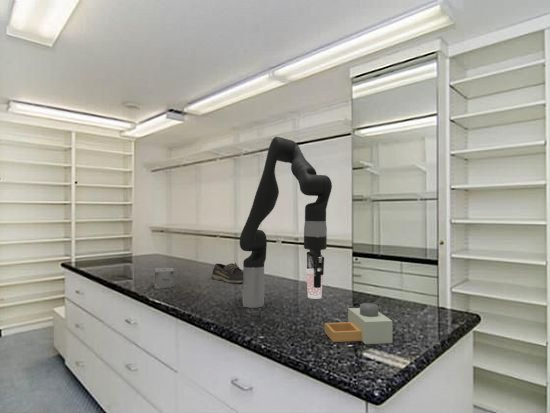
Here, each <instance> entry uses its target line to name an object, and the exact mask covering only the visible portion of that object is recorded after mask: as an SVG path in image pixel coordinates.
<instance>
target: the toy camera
mask: <svg viewBox="0 0 550 413" xmlns="http://www.w3.org/2000/svg"><path fill="white" fill-rule="evenodd" d="M324 333H325V334H326V335H327V337H328V338H329V339H330V340H331V341H332V343H337V342H339V343H341V342H342V343H343V342H358V341H359V342H362V343H364V345H376V344H377V345H381V344H393V320H392V319H390V318H389V317H387V316H386V315H384V314H382V313H381V312H380V311H379V305H378V304H376V303H371V302H362V303H360V304H359V307H348V308H347V322H345V321H344V322H343V321H342V322H324Z"/></svg>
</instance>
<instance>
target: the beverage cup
mask: <svg viewBox="0 0 550 413" xmlns="http://www.w3.org/2000/svg"><path fill="white" fill-rule="evenodd" d="M318 271H319V269H318ZM305 273H306V287H307V288H306V289H307V290H306V291H307V298H308V299H311V300H313V299H314V300H316V299H317V300H319V299H322V295H323V294H322V293H323V282H324V280H323V279H324V274H323V275H322V276H321V287H320V288H315V287H314V272H313V269H307V268H306V269H305Z"/></svg>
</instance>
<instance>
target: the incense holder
mask: <svg viewBox="0 0 550 413" xmlns="http://www.w3.org/2000/svg"><path fill="white" fill-rule="evenodd" d="M174 270H175V269H174V267H171V266H170V267H155V268H154V290H159V289H172V288H174V287H175V286H174V280H175V279H174V278H175V277H174V275H175V273H174V272H175V271H174Z"/></svg>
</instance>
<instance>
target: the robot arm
mask: <svg viewBox="0 0 550 413" xmlns="http://www.w3.org/2000/svg"><path fill="white" fill-rule="evenodd" d="M277 162H282V163H286V164H287V163H288V164H290V170H291V174H292V175H293V176H294V178H295V179H296V180H297V182H298V184H299V185H298V186H299V190H300V193H302V194H304V196H309V197H312V196H313V197H317V198H316V201H314V202H311V203H306V205H305V207H304V225H303V248H304V250H309V251H306V269H313V272H314V287H315V288H320V287H321V276H322V275H323V276H324V274H325V269H324V268H325V267H324V265H325V256H323V254H322V251H324V250H326V249H327V242H328V241H327V240H328V239H327V238H328V236H327V231H328V228H327V206H328V203H329V199H330V196H331V193H332V188H333V184H332V180H331V178H330V177H329V176H328V175H326V174H318V173H317V171H316V169H315V167H314V166H312V164H310V162H309V161H308V160H306V157H305V156H304V153H303V152H302V150H301V148H300V146H299V144H298V143H297V142H296V141H294V140H291V139H287V138H284V137H280V136H274V137H273V138H272V139H271V142H270V143H269V147H268V150H267V154H266V160H265V164H264V167H263V170H262V174H261V178H260V181H259V183H258V187H257V190H256V192H255V196H254V198H253V202H252V206H251V208H250V212H249V214H248V217H247V219H246V222H245V224H244V226H243V229H242V231H241V233H240V236H239V247H240V249H241V250H242V251H244V252H251V253H250V255H249V256H248V257H247V258H245V259H244V260H243V261H242V262H243V263H242V264H243V265H242V267H243V269H242V271H243V283H242V307H243V308H248V309H249V308H250V309H257V308H261V307H264V306H265V262H266V258H267V249H268V248H267V246H268V245H267V244H268V241H267V236H266V232H265V231H264V230H262V229H259V227H260V226H261V224H262V222H263V221H264V220H265V219H266V218H267V217H268V216H269V215H270V214H271V212H272V211H273V210H274V209H275V206H276V204H277V201H278V198H279V195H280V190H279V184H278V181H277V178H276V165H277ZM318 269H319V271H318Z"/></svg>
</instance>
